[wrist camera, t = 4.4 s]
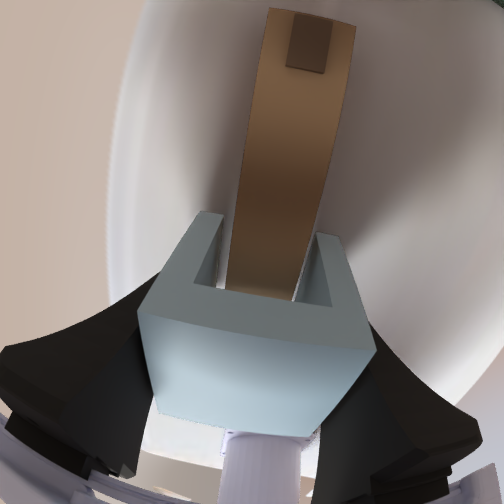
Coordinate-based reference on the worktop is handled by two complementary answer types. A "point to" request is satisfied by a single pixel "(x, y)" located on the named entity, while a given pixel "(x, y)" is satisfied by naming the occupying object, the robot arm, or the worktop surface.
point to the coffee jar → (499, 2)
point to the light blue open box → (252, 340)
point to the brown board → (287, 149)
